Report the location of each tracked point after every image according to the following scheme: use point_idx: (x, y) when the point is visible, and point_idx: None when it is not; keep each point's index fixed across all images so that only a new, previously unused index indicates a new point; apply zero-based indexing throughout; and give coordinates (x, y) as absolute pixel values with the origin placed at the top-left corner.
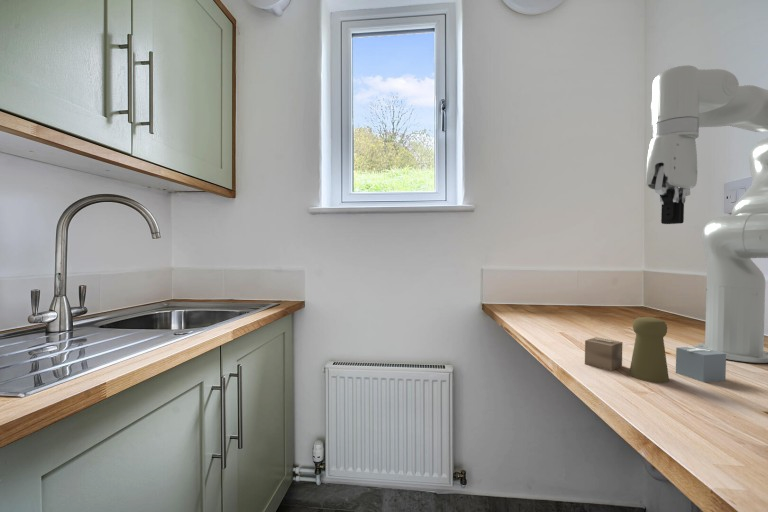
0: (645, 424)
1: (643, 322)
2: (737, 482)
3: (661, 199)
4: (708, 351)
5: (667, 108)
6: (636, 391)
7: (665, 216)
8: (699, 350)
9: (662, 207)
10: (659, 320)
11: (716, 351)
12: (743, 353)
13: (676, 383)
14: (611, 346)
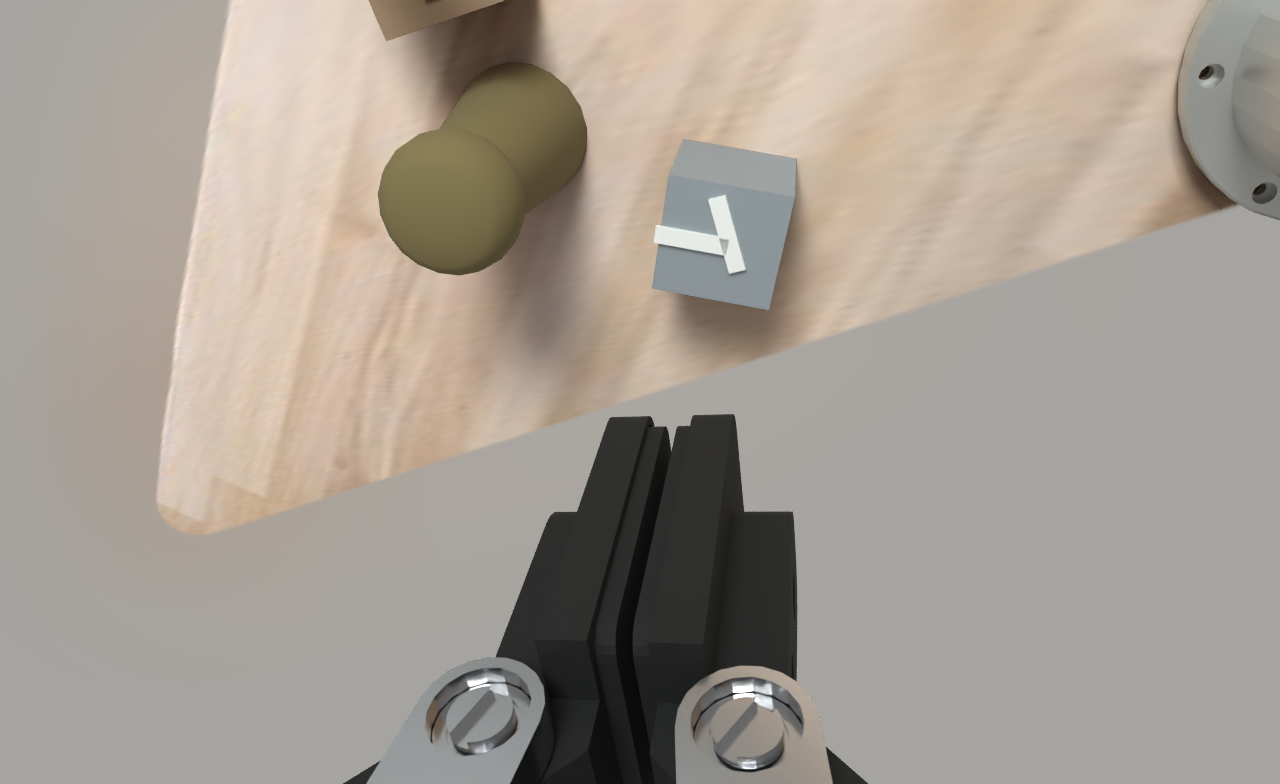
0: (206, 354)
1: (384, 221)
2: (206, 511)
3: (404, 753)
4: (727, 270)
5: None
6: (349, 214)
7: (553, 541)
8: (703, 250)
9: (557, 602)
10: (447, 261)
11: (772, 277)
12: (1254, 154)
13: (556, 216)
14: (387, 38)
